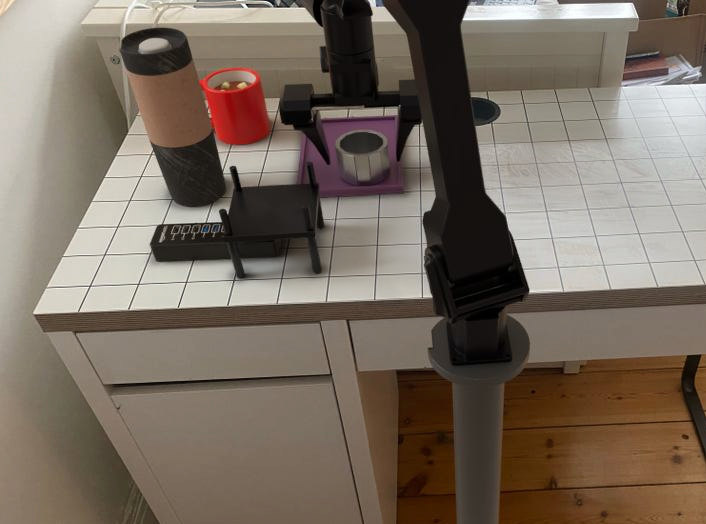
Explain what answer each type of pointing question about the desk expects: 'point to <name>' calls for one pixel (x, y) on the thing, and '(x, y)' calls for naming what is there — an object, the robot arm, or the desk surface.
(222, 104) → the mug
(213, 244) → the multiport hub
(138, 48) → the travel mug
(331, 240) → the desk surface
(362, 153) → the bowl
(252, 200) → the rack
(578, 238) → the desk surface
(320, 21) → the robot arm
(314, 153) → the purple tray
